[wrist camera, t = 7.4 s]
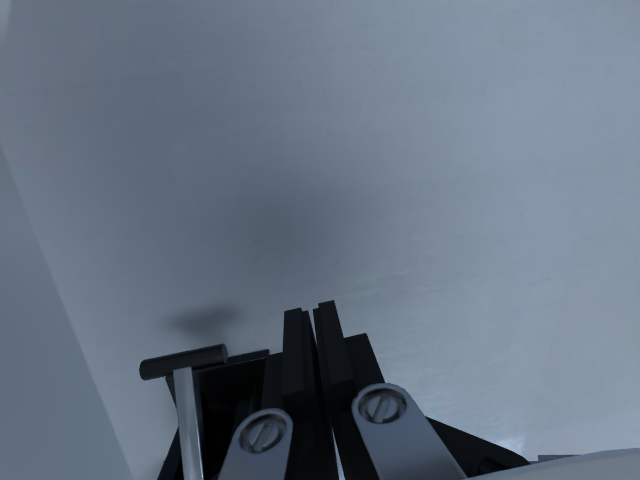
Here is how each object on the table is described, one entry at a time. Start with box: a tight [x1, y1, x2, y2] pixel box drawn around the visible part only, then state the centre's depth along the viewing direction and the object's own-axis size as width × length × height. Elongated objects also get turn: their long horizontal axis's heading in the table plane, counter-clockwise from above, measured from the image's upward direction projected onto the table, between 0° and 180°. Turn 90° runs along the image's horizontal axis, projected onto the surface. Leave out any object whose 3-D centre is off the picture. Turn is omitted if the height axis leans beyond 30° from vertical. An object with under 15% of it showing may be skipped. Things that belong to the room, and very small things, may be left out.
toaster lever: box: [139, 344, 228, 480], centre depth 20 cm, size 11×5×2 cm, turn 11°
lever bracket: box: [158, 350, 270, 480], centre depth 23 cm, size 8×8×12 cm
